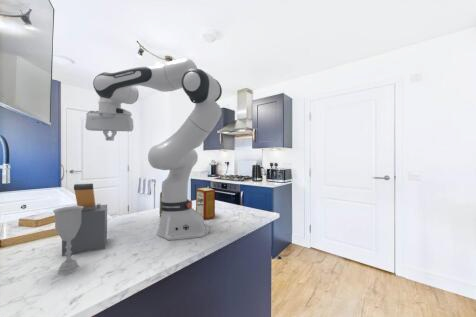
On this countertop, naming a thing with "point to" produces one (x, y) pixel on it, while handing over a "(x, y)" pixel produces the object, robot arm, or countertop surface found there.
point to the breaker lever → (85, 195)
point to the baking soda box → (205, 202)
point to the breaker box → (90, 231)
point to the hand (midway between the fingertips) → (109, 140)
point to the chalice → (68, 233)
